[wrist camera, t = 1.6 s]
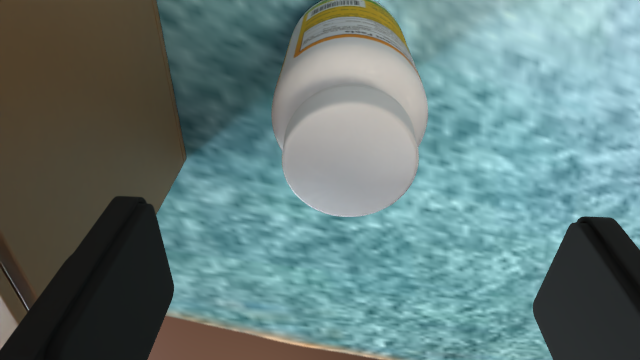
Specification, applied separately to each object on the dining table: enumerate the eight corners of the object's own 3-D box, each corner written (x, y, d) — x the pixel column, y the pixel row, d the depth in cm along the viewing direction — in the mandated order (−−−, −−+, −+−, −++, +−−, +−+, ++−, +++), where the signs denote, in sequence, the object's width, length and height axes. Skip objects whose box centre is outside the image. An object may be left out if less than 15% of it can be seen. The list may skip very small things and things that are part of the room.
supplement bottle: (355, 123, 22) (362, 259, 15) (268, 63, 21) (223, 180, 13) (428, 40, 20) (486, 152, 12) (335, -36, 18) (331, 34, 10)
